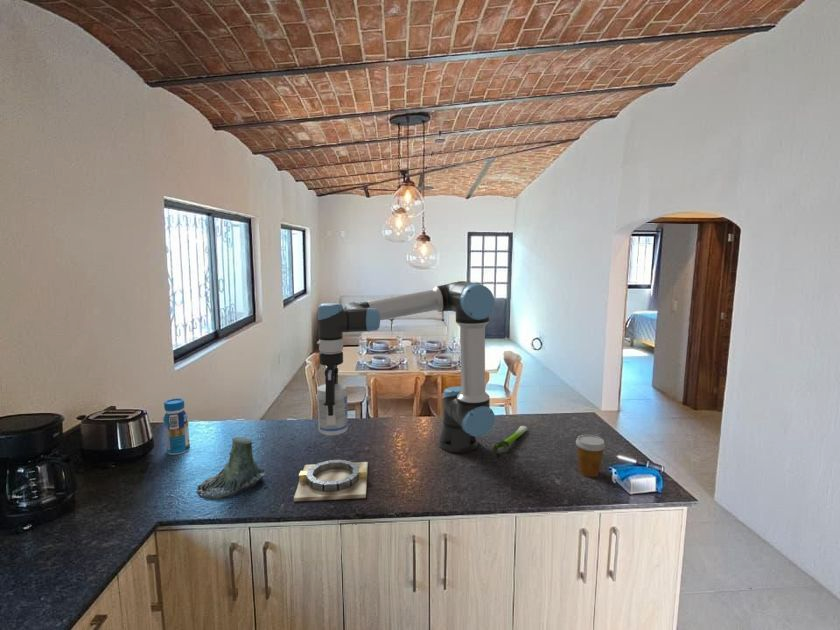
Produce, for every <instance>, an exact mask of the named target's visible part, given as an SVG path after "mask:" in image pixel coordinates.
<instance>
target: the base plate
mask: <svg viewBox="0 0 840 630" xmlns="http://www.w3.org/2000/svg"><path fill="white" fill-rule="evenodd" d="M354 463H355V464H356V465H357V466H358V467H359V468H366V473H367V475H366V479H361V480H358V482H357V483H356V484H354V485H353V486H352V487H351V486H350V488H347V489H344V490H341V491H338V490H337V492H324V491H323V492H321V491H317V490H313V489H311V488H310V487H309V485H308V484H307V482H299V481H298V483H297V484H298V485H297V488H296V491H295V493H294V496H293V502H309V501H326V500H327V501H329V500H333V501H334V500H346V499H347V500H349V499H366V497H367V485H368V484H367V483H368V481H367V480H368V464H369V462H368V461H361V462H359V461H358V462H354ZM316 464H317V463H315V464H314V463H313V464H305V465H304V467H303V470H302V471H308V470H309V469H310V468H311V467H313V466H314V465H316ZM351 474H352V473H350V472H349V471H346V470H342V469H332V470H327V471H324V472H321V473H319V474H318V475H316V476H315V478H316V479H318V480H322V481H338V480H341V479H345V478H347V477H348V476H350V475H351Z"/></svg>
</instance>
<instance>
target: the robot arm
mask: <svg viewBox="0 0 840 630" xmlns="http://www.w3.org/2000/svg"><path fill="white" fill-rule="evenodd" d="M495 304H496V303H495V297H494V294H493V293H492V291H491V290H490V289H489V288H488V287H487V286H486V285H483V284H481V283H479V282H471V281H464V280H461V281H454V282H451V283H447V284H442V285H437V286H434V287H433V289H430V290H425V291H417V292H413V293H407V294H400V295H394V296H388V297H384V298H378V299H373V300H372V299H371V300H367V301H360V302H354V301H353V302H347V303H346V304H345V305H342V303H340V302H323V303H321V304H319V305H318V307H317V308H318V309H317V311H318V312H317V328H318V332H317V333H318V341H317V342H316V344H317V345H318V350H319V354H318V357H319V358H318V360H319V361H318V362H319V364H320V365H322V366H326V368H325V369H324V376H325V381H324V382H325V383H324V384H326V403H324V406H326V414H327V425H336V416H335V384H339V380H338V379H339V367H338V366H339V365H342V364H343V363H344V352H343V350H344V338H343V336H344V335H343V334H344V333H355V332H356V333H357V332H359V333H360V332H368V333H369V332H372V331H373V332H374V331H377V330H379V328H380V326H381V321H383V320H389V319H394V318H395V319H396V318H401V317H406V316H410V315H417V314H422V313H429V312H432V311H433V312H434V311H436V312H438V313H442V312H454V313H455V323H456V324H457V326H459V330H460V331H459V333H460V334H459V336H460V337H459V339H460V345H459V346H460V386H451V387H448V388H445V389H444V390H443V394H442V395H443V396H442V399H443V400H442V403H443V404H442V407H443V408H442V410H443V411H442V412H443V413H442V414H443V415H442V416H443V417H442V418H443V421H442V422H443V423H442V428H441V431H440V434H439V438H438V445H439V447H440V448H441V449H442V450H444V451H447V452H451V453H469V452H472V451H474V450H475V449H477V448H478V437H482V436H485V435H486V434H488V433H489V432H490V431H491V430H492V429H493V427H494V425H495V423H496V422H495V421H496V415H495V412H494V411H493V409H492V408H491V406H490V405H491V402H490V400H491V399H490V394H488V393H487V392H486V331H485V330H486V326H487V325H488V324H489V323H490V316H491V314H492V313H493V311H494V309H495Z"/></svg>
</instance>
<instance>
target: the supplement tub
mask: <svg viewBox="0 0 840 630" xmlns="http://www.w3.org/2000/svg"><path fill="white" fill-rule="evenodd" d="M316 389H317V390H316V404H317V408H316V409H317V425H318V426H317V427H318V432H319V433H320V434H322V435H325V436H337V435H341V434H343V433H345V432H347V431H348V429H349V426H348V425H349V419H348V415H349V414H348V392H347V386H346V385H345V384H343V383H338V384H335V416H336V425H327V414H326V406H324V403H326V383H324V384H322V385H318V386H317V388H316Z"/></svg>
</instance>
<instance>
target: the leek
mask: <svg viewBox="0 0 840 630" xmlns="http://www.w3.org/2000/svg"><path fill="white" fill-rule="evenodd" d="M527 430H529V429H528V427H527V426H525V425H520V426H519V427H518V429H517V430H516V431H515V432H514V433H513V434H512V435H510V436H509V437H508V438H505V439H502V441H499V442H495V443H494V445H493V446H492V450H493V452H494V453H495V454H496V455H498V450H499V449H500V448H502V447H503V450H502V451H503V453H505V452H506V449H507V453H509V451H510V450H509V447H510V446H509V445H510V444H511V443H514V442H515V440H517V439H518V438H520V436H521V435H523V434H524V433H525V432H527Z"/></svg>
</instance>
